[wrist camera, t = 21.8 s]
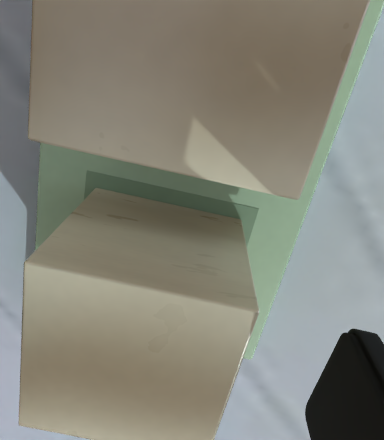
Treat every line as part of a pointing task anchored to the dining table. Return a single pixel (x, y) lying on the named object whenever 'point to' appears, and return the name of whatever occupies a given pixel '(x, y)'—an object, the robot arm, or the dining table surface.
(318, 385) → the robot arm
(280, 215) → the word board
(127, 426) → the tile
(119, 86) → the tile
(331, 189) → the dining table surface
